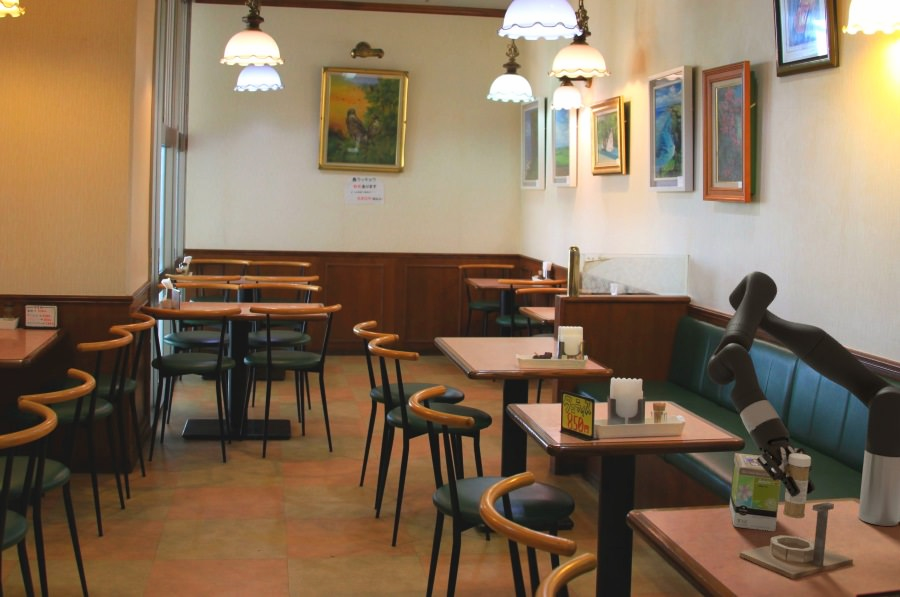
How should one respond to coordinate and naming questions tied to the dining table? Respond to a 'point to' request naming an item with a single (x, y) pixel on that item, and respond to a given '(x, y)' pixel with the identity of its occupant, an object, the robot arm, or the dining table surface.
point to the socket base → (792, 565)
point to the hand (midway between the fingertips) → (803, 493)
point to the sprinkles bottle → (800, 475)
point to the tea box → (753, 494)
